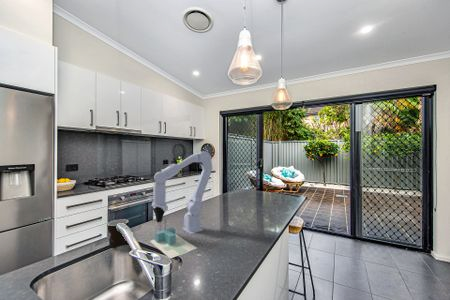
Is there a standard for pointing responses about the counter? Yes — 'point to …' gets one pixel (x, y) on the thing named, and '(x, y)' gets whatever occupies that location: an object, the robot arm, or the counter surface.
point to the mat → (174, 247)
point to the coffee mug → (116, 233)
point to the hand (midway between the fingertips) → (159, 221)
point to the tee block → (166, 236)
